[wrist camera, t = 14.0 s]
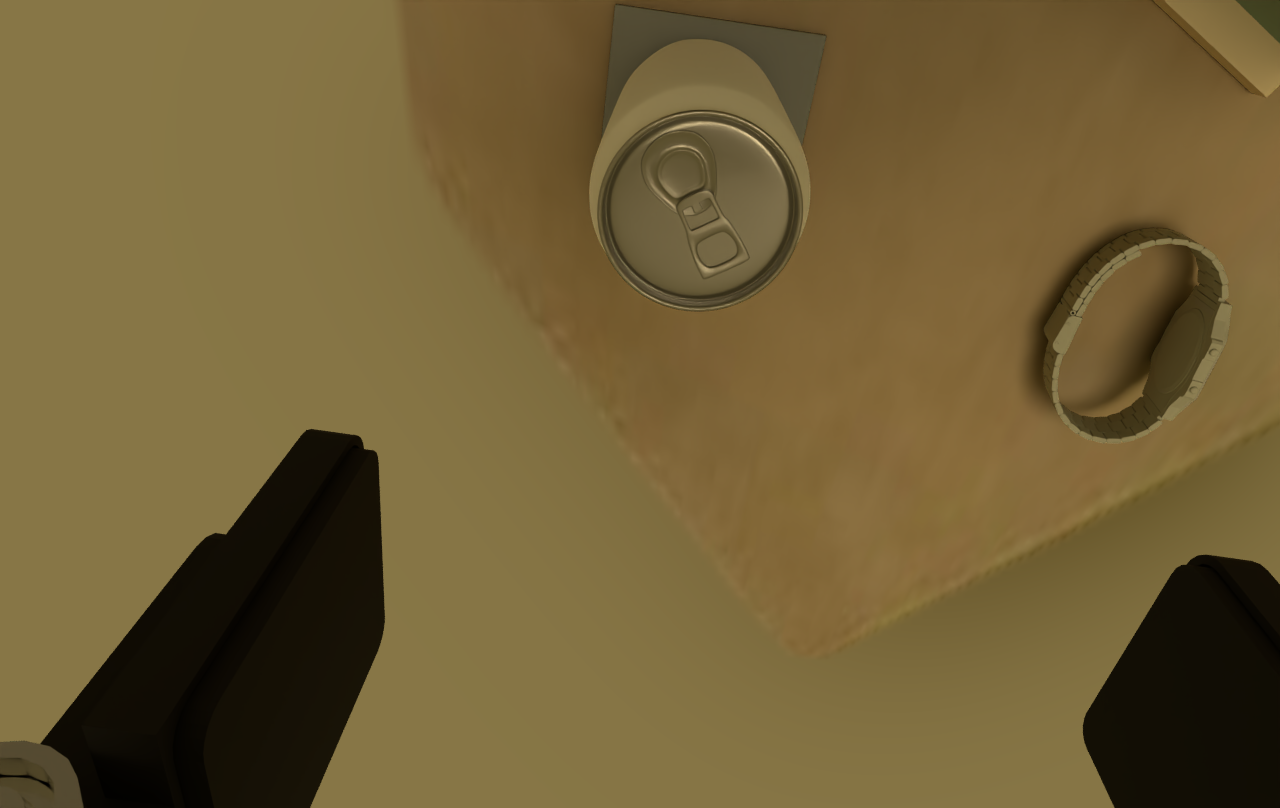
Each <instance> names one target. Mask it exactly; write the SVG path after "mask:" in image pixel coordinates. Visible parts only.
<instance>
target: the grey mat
mask: <svg viewBox="0 0 1280 808" xmlns="http://www.w3.org/2000/svg"><path fill="white" fill-rule="evenodd" d="M687 39H707V40H714V41H718V42H722V43H725V44H728V45H730V46H732V47H734V48H736V49H738V50H740V51H742V52H743V53H745V54H746V55H747V56H749V57H750V58H751V59H752V60H753V61H754V62H755V63H756V64H757V65H758V66H759V67H760V68H761V70H762V71H763V72H764V74H765V75H766V76H767V78H768V80H769V81H770V83H771V85H772V87H773V88H774V90H775V92H776V94H777V96H778V98H779V100H780V102H781V104H782V106H783V108H784V110H785V112H786V114H787V116H788V118H789V120H790V122H791V124H792V126H793V128H794V130H795V132H796V134H797V137H798V139H799V141H800V143H801V146H802V143H803V139H804V134H805V130H806V125H807V121H808V116H809V112H810V108H811V103H812V99H813V94H814V90H815V85H816V81H817V76H818V72H819V67H820V63H821V58H822V54H823V50H824V45H825V41H826V35H823V34H816V33H809V32H802V31H796V30H789V29H782V28H775V27H769V26H762V25H755V24H748V23H742V22H735V21H728V20H721V19H715V18H708V17H701V16H694V15H688V14H681V13H674V12H667V11H661V10H654V9H647V8H640V7H634V6H627V5H620V4H616V5H615V12H614V22H613V32H612V41H611V51H610V61H609V70H608V80H607V90H606V99H605V109H604V118H603V128H602V137H603V135H604V132H605V130H606V127H607V125H608V122H609V120H610V117H611V115H612V113H613V110H614V108H615V106H616V103H617V101H618V99H619V96H620V94H621V92H622V90H623V88H624V86H625V84H626V82H627V81H628V79H629V78H630V76H631V75H632V73H633V72H634V71H635V70H636V69H637V68H638V67H639V66H640V65H641V64H642V63H643V62H644V61H645V60H646V59H647V58H649V57H650V56H651V55H653V54H654V53H655V52H657V51H658V50H660V49H662V48H663V47H665V46H667V45H669V44H672V43H674V42H677V41H681V40H687ZM601 140H602V138H601Z"/></svg>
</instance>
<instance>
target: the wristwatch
mask: <svg viewBox="0 0 1280 808" xmlns="http://www.w3.org/2000/svg"><path fill="white" fill-rule="evenodd" d="M1170 243H1172V244H1175V245H1186V246H1188V247H1190V250H1191V251H1192V253H1193V254H1194V256H1195V257H1196V262H1197V265H1198V269H1199V270H1198V282H1199V283H1200V284H1199V286H1197V285H1196V286H1195V288H1194V289H1193V291H1192V293H1191V294H1190V296H1189V297H1188V299H1187V300H1186V301H1185V302H1184V303H1183V304H1182V305H1181V306H1180V308H1179V309H1178V310H1177V309H1176V311H1175V313H1174V315H1173V317H1172V319H1171V321H1170V322H1169V324H1168V326H1167V328H1166V330H1165V332H1164V334H1163V336H1162V338H1161V340H1160V342H1159V344H1158V345H1157V346H1156V348H1155V350H1154V352H1153V354H1152V357H1151V359H1150V362H1151V366H1150V370H1149V375H1148V379H1147V382H1146V384H1145V387H1144V390H1143V392H1142V394H1143V395H1144V396H1143V397H1140V398H1139V399H1138V400H1136V401H1135V402H1134V403H1133V404H1132V406H1129V407H1127V408H1125V409H1124V410H1122V411H1120V412H1119V413H1116V414H1112V415H1109V416H1107V417H1095V418H1093V417H1088V416H1080V415H1078V414H1076V413H1074V412H1072V411H1071V412H1070V410H1068V409H1067V408H1066V407H1065V406H1064V405H1061V403H1060V402H1059V396H1058V391H1057V390H1058V380H1057V378H1058V375H1059V370H1060V367H1059V366H1060V365H1061V362H1062V359H1063V354H1064V355H1065V354H1066V352H1067V350H1068V347H1069V345H1070V343H1071V341H1072V339H1073V337H1074V335H1075V333H1076V331H1077V329H1078V327H1079V325H1080V323H1081V321H1082V319H1083V318H1082V317H1081V316H1082V314H1083V313H1084V311H1085V310H1086V308H1087V305H1088V304H1089V302H1090V301H1091V299H1092V298H1093V297H1094V295H1095V294H1094V293H1096V291H1097V290H1098V289H1099V288H1100V287H1101V286H1102V284H1103V283H1104V282H1103V281H1105V280H1107V279H1108V278H1109V277H1110V276H1111V275H1112V274H1113V273H1114V270H1117V269H1118V268H1120V267H1121V266H1123V265H1125V264H1126V263H1127V261H1131V260H1133V259H1135V258H1137V257H1139V256H1141V252H1140V251H1139V249H1144V248H1147V247H1151V246H1154V245H1155V244H1156V245H1163V244H1170ZM1087 262H1088V263H1085V264H1084V265H1083V267H1082V268H1081V269H1080V270H1079V271H1078V274H1076V275H1075V277H1074V278H1073V280H1072V281H1071V283H1070V285H1071V286H1068V287H1067V289H1066V291H1065V292H1064V294H1063V297H1062V298H1061V300H1060V301H1061V302H1062V304H1061V302H1059V303H1058V305H1057V307H1056V308H1055V310H1054V312H1053V313H1052V315H1051V317H1050V318H1049V320H1048V322H1047V323H1046V325H1045V326H1044V333H1045V335H1046V337H1047V338H1048V340H1049V341H1048V344H1047V347H1046V350H1047V351H1046V352H1045V357H1044V369H1043V374H1044V381H1045V386H1046V388H1047V391H1048V394H1049V396H1050V398H1051V400H1052V403H1053V405H1054V407H1055V409H1056V411H1057V413H1058V414H1059V416H1060V418H1061V419H1062V420H1063V422H1064V423H1065V425H1068V427H1069V428H1070V429H1071V430H1072V431H1073V432H1075V433H1076V434H1079V435H1080V436H1082V437H1084V438H1086V439H1088V440H1091V439H1092V441H1096V442H1100V443H1106V442H1107V443H1121V441H1122V442H1128V441H1133V440H1136V437H1137V438H1141V437H1143V436H1145V435H1147V434H1149V433H1150V431H1153V430H1155V429H1156V428H1157V427H1159V426H1160V425H1161V424H1162V422H1161V421H1160V420H1163V419H1166V420H1170V421H1172V420H1173V419H1174V418H1175V417H1176V416H1177V415H1178V414H1179V413H1180V412H1182V411H1183V410H1184V409H1185V408H1186V407H1187V406H1188V405H1189V404H1191V403H1192V402H1193V401H1195V400H1196V399H1197V397H1198V395H1199V394H1200V392H1201V390H1202V388H1203V386H1204V384H1205V383H1206V381H1207V379H1208V377H1209V375H1210V373H1211V371H1212V369H1213V368H1214V366H1215V364H1216V362H1217V360H1218V358H1219V356H1220V354H1221V353H1222V351H1223V349H1224V346H1225V344H1226V342H1227V338H1228V332H1229V325H1230V314H1231V310H1232V305H1231V304H1229V303H1228V302H1226V301H1225V299H1227V298H1228V285H1227V284H1228V279H1227V276H1226V273H1225V271H1224V267H1223V265H1222V264H1221V263H1220V261H1219V260H1218V259H1217V258H1216V255H1215V254H1213V253H1212V252H1211V251H1209V250H1208V249H1207V248H1205V247H1204V246H1202V245H1200V244H1199V243H1197V242H1195V241H1193V240H1192V239H1190V238H1188V237H1186V236H1185V235H1183V234H1181V233H1178V232H1175V231H1173V230H1172V231H1171V230H1169V229H1162V228H1156V229H1155V228H1148V229H1141V230H1140V231H1139V230H1135V231H1133V232H1130V233H1128V234H1125V236H1124V235H1122V236H1120V237H1118V238H1117V239H1115V240H1113V241H1112V242H1111V243H1108V244H1107V245H1105V246H1104V247H1103V248H1102V249H1100V250H1099V253H1098V252H1096V253H1095V254H1094V255H1093V256H1092V257H1091V258H1090V259H1089V260H1088V261H1087Z"/></svg>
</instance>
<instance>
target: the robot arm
mask: <svg viewBox="0 0 1280 808" xmlns="http://www.w3.org/2000/svg"><path fill="white" fill-rule="evenodd" d="M378 464H379V463H378V456H377V453H376V452H375V451H373V450H366V449H364V446H363V442H362V439H361V438H360V437H359V436H357V435H350V434H343V433H336V432H328V431H321V430H314V429H310V430H306V431H305V432H304V433H303V434H302V435H301V436H300V438H299V439H298V441H297V442H296V443H295V444H294V446H293V447H292V448H291V450H290V451H289V452H288V454H287V455H286V456H285V458H284V459H283V460H282V462H281V463H280V464H279V465H278V467H277V468H276V469H275V471H274V472H273V473H272V475H271V476H270V477H269V479H268V480H267V481H266V483H265V484H264V485H263V487H262V488H261V489H260V491H259V492H258V493H257V495H256V496H255V497H254V498H253V500H252V501H251V503H250V504H249V505H248V506H247V508H246V509H245V510H244V512H243V513H242V514H241V516H240V517H239V518H238V520H237V521H236V522H235V523H234V525H233V526H232V527H231V529H230V530H229V531H228V533H227V534H226V535H225V534H218V533H215V534H212V535H210V536H208V537H206V538H205V539H204V540H203V541H202V542H201V543H200V544H199V545H198V546H197V547H196V548H195V549H194V550H193V552H192V553H191V554H190V555H189V557H188V558H187V559H186V561H185V562H184V563H183V564H182V565H181V567H180V568H179V569H178V570H177V572H176V573H175V574H174V576H173V577H172V578H171V579H170V581H169V582H168V583H167V584H166V586H165V587H164V588H163V589H162V591H161V592H160V593H159V595H158V596H157V597H156V598H155V600H154V601H153V602H152V603H151V605H150V606H149V607H148V608H147V610H146V611H145V612H144V614H143V615H142V616H141V617H140V619H139V620H138V621H137V622H136V624H135V625H134V626H133V627H132V629H131V630H130V631H129V632H128V634H127V635H126V636H125V637H124V639H123V640H122V641H121V643H120V644H119V645H118V646H117V648H116V649H115V650H114V651H113V653H112V654H111V655H110V656H109V658H108V659H107V660H106V662H105V663H104V664H103V665H102V667H101V668H100V669H99V670H98V672H97V673H96V674H95V675H94V677H93V678H92V679H91V680H90V682H89V683H88V684H87V686H86V687H85V688H84V689H83V690H82V692H81V693H80V694H79V696H78V697H77V698H76V700H75V701H74V702H73V703H72V704H71V706H70V707H69V708H68V709H67V711H66V712H65V713H64V715H63V716H62V717H61V718H60V720H59V721H58V722H57V723H56V725H55V726H54V727H53V728H52V730H51V731H50V732H49V733H48V735H47V736H46V737H45V739H44V740H43V741H42V742H41V744H36V743H32V742H28V741H10V742H0V808H310V806H311V804H312V802H313V799H314V797H315V795H316V792H317V790H318V788H319V786H320V783H321V781H322V779H323V776H324V774H325V772H326V769H327V767H328V764H329V762H330V760H331V758H332V756H333V753H334V751H335V749H336V746H337V744H338V742H339V739H340V737H341V735H342V732H343V730H344V728H345V725H346V723H347V721H348V718H349V716H350V714H351V712H352V709H353V707H354V705H355V702H356V700H357V698H358V695H359V693H360V691H361V688H362V686H363V684H364V682H365V679H366V677H367V675H368V672H369V670H370V668H371V666H372V663H373V661H374V658H375V656H376V654H377V652H378V649H379V646H380V643H381V640H382V635H383V631H384V623H385V610H384V587H383V561H382V537H381V512H380V487H379V465H378ZM1083 736H1084V741H1085V744H1086V747H1087V750H1088V752H1089V754H1090V756H1091V758H1092V760H1093V763H1094V765H1095V767H1096V769H1097V771H1098V773H1099V775H1100V777H1101V780H1102V782H1103V784H1104V786H1105V788H1106V790H1107V793H1108V795H1109V797H1110V799H1111V801H1112V803H1113V805H1114V807H1115V808H1280V584H1279V583H1278V582H1277V581H1276V580H1275V578H1274V577H1273V576H1272V575H1271V574H1270V573H1269V571H1268V570H1266V569H1265V568H1264V567H1263V566H1262V565H1260V564H1258V563H1256V562H1253V561H1247V560H1240V559H1234V558H1226V557H1219V556H1212V555H1199V556H1196V557H1195V558H1193V559H1191V560H1190V561H1189V562H1188V564H1187V565H1181V566H1179V567H1178V568H1176V569H1175V570H1174V572H1173V573H1172V574H1171V576H1170V578H1169V579H1168V581H1167V583H1166V584H1165V586H1164V587H1163V589H1162V591H1161V592H1160V594H1159V595H1158V597H1157V599H1156V600H1155V602H1154V604H1153V605H1152V607H1151V608H1150V610H1149V612H1148V613H1147V615H1146V617H1145V619H1144V620H1143V622H1142V623H1141V625H1140V627H1139V628H1138V630H1137V631H1136V633H1135V635H1134V636H1133V638H1132V640H1131V641H1130V643H1129V644H1128V646H1127V648H1126V650H1125V651H1124V653H1123V654H1122V656H1121V658H1120V659H1119V661H1118V663H1117V664H1116V666H1115V667H1114V669H1113V671H1112V672H1111V674H1110V675H1109V677H1108V679H1107V680H1106V682H1105V684H1104V685H1103V687H1102V689H1101V690H1100V692H1099V693H1098V695H1097V697H1096V698H1095V700H1094V702H1093V703H1092V705H1091V707H1090V708H1089V710H1088V711H1087V713H1086V716H1085V718H1084V723H1083Z"/></svg>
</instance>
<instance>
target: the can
mask: <svg viewBox="0 0 1280 808" xmlns="http://www.w3.org/2000/svg"><path fill="white" fill-rule="evenodd" d="M589 204H590V213H591V218H592V223H593V226H594V229H595V232H596V235H597V238H598V240H599V242H600V244H601V246H602V248H603V250H604V251H605V253H606V254H607V256H608V258H609V260H610V262H611V264H612V265H613V267H614V268H615V270H616V271H617V272H618V274H619V275H620V276H621V277H622V278H623V279H624V280H625V282H626V283H628V284H629V285H630V286H631V287H632V288H633V289H634V290H636V291H637V292H638V293H640V294H641V295H643V296H644V297H646V298H648V299H650V300H652V301H654V302H656V303H658V304H661V305H663V306H666V307H670V308H673V309H678V310H684V311H712V310H718V309H723V308H727V307H730V306H733V305H736V304H738V303H741V302H743V301H745V300H747V299H749V298H751V297H752V296H754V295H756V294H757V293H759V292H760V291H761V290H763V289H764V288H765V287H766V286H768V285H769V284H770V283H771V282H772V281H773V280H774V279H775V278H776V277H777V276H778V275H779V273H780V272H781V271H782V270H783V268H784V267H785V265H786V264H787V262H788V261H789V259H790V257H791V255H792V254H793V251H794V249H795V247H796V245H797V243H798V241H799V239H800V237H801V235H802V232H803V230H804V227H805V224H806V221H807V217H808V212H809V206H810V176H809V169H808V165H807V161H806V157H805V154H804V151H803V149H802V146H801V143H800V141H799V139H798V137H797V134H796V132H795V130H794V128H793V126H792V124H791V122H790V120H789V118H788V116H787V114H786V112H785V110H784V108H783V106H782V104H781V102H780V100H779V98H778V96H777V94H776V92H775V90H774V88H773V87H772V85H771V83H770V81H769V80H768V78H767V76H766V75H765V74H764V72H763V71H762V70H761V68H760V67H759V66H758V65H757V64H756V63H755V62H754V61H753V60H752V59H751V58H750V57H749V56H747V55H746V54H745V53H743V52H742V51H740V50H738V49H736V48H734V47H732V46H730V45H728V44H725V43H722V42H718V41H714V40H707V39H687V40H681V41H677V42H674V43H672V44H669V45H667V46H665V47H663V48H662V49H660V50H658V51H657V52H655V53H654V54H653V55H651V56H650V57H649V58H647V59H646V60H645V61H644V62H643V63H642V64H641V65H640V66H639V67H638V68H637V69H636V70H635V71H634V72H633V73H632V75H631V76H630V78H629V79H628V81H627V82H626V84H625V86H624V88H623V90H622V92H621V94H620V96H619V99H618V101H617V103H616V106H615V108H614V110H613V113H612V115H611V117H610V120H609V122H608V125H607V127H606V130H605V132H604V135H603V137H602V140H601V142H600V145H599V148H598V150H597V153H596V156H595V160H594V163H593V167H592V171H591V177H590V186H589Z"/></svg>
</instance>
